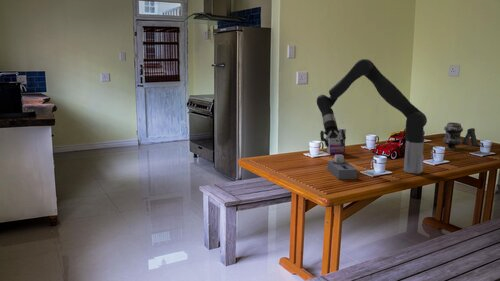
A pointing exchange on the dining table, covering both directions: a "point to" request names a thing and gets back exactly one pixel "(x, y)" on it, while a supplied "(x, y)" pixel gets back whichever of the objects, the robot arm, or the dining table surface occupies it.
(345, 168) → the bore block
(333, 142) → the candy bar box
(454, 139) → the dark grey tall lump
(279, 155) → the dining table surface
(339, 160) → the gray rectangular block
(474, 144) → the dark grey arch
